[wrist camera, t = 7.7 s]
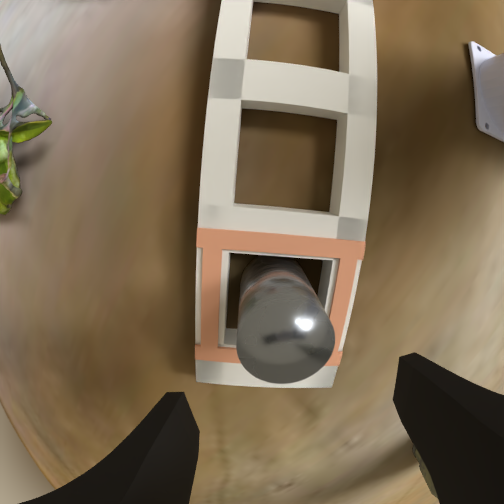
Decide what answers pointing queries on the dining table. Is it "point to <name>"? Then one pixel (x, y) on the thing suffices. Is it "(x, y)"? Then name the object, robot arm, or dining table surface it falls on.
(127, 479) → the robot arm
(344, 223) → the hole rail
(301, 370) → the metal peg
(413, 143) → the dining table surface
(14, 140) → the passion flower
